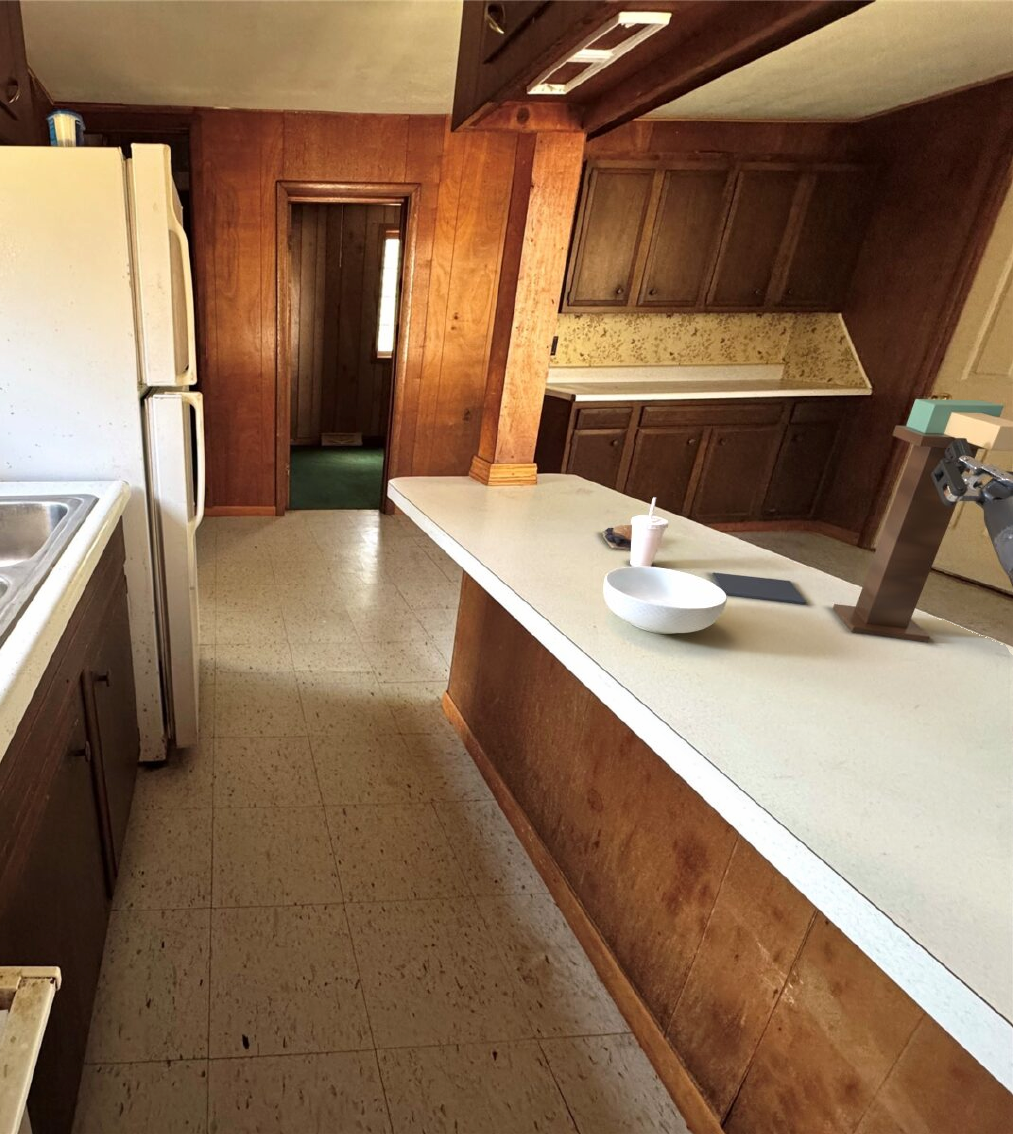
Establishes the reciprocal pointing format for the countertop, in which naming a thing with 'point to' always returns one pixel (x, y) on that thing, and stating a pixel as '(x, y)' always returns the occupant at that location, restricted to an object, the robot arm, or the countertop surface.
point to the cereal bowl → (663, 599)
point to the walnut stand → (905, 545)
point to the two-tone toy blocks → (964, 421)
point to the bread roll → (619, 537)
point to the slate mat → (758, 588)
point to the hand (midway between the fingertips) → (1003, 444)
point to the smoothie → (646, 537)
